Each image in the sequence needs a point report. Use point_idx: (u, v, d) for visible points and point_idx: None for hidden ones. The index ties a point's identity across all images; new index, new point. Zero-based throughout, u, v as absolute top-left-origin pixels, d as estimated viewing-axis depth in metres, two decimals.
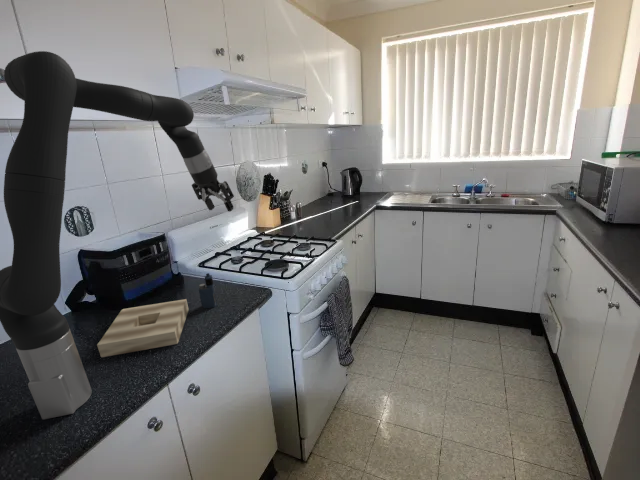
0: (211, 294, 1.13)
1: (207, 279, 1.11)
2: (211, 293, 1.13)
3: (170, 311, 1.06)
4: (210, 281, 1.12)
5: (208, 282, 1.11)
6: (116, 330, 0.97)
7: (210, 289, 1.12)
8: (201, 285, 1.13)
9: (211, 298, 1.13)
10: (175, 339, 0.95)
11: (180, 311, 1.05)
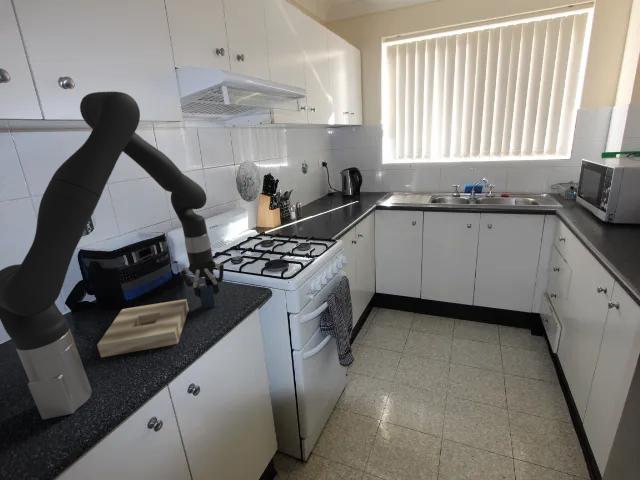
0: (211, 294, 1.13)
1: (207, 279, 1.11)
2: (211, 293, 1.13)
3: (170, 311, 1.06)
4: (210, 281, 1.12)
5: (208, 282, 1.11)
6: (116, 330, 0.97)
7: (210, 289, 1.12)
8: (201, 285, 1.13)
9: (211, 298, 1.13)
10: (175, 339, 0.95)
11: (180, 311, 1.05)
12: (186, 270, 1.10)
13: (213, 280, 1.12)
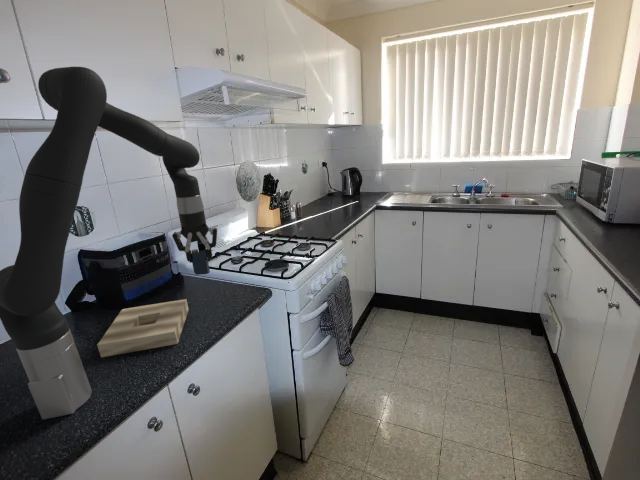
0: (204, 260, 1.09)
1: (200, 243, 1.07)
2: (204, 259, 1.09)
3: (170, 311, 1.06)
4: (203, 246, 1.08)
5: (201, 247, 1.07)
6: (116, 330, 0.97)
7: (203, 254, 1.08)
8: (193, 250, 1.09)
9: (204, 264, 1.09)
10: (175, 339, 0.95)
11: (180, 311, 1.05)
12: (178, 233, 1.06)
13: (206, 245, 1.08)
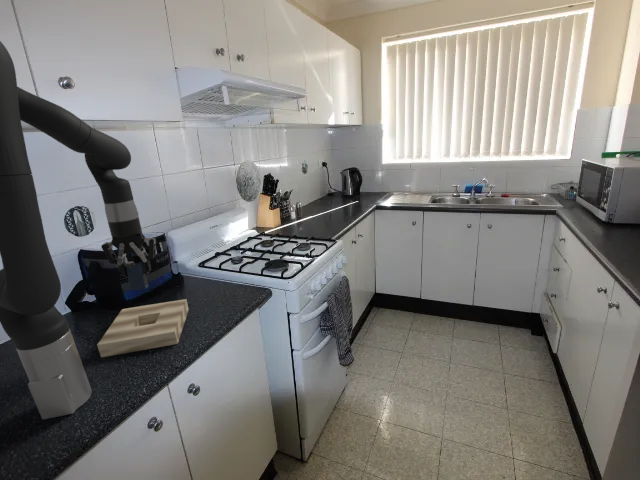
0: (140, 273, 0.96)
1: (134, 255, 0.95)
2: (140, 272, 0.96)
3: (170, 311, 1.06)
4: (138, 258, 0.95)
5: (136, 259, 0.95)
6: (116, 330, 0.97)
7: (138, 267, 0.96)
8: (128, 263, 0.96)
9: (140, 278, 0.97)
10: (175, 339, 0.95)
11: (180, 311, 1.05)
12: (109, 244, 0.93)
13: (142, 257, 0.95)
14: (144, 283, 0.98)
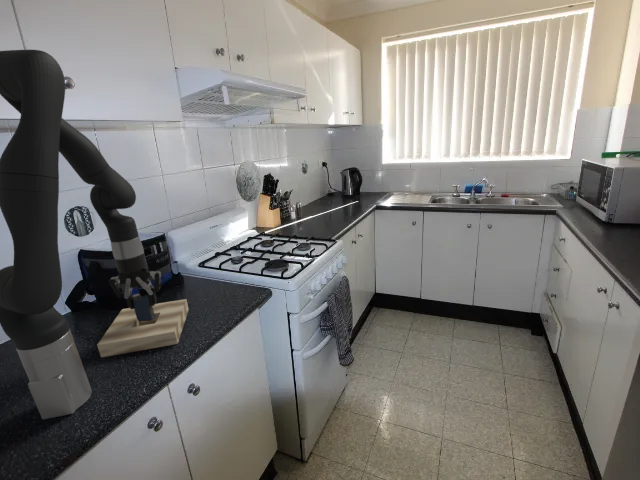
0: (146, 306, 0.99)
1: (140, 289, 0.97)
2: (146, 305, 0.99)
3: (170, 311, 1.06)
4: (144, 291, 0.98)
5: (142, 292, 0.98)
6: (116, 330, 0.97)
7: (145, 300, 0.99)
8: (135, 295, 0.99)
9: (146, 310, 1.00)
10: (175, 339, 0.95)
11: (180, 311, 1.05)
12: (115, 279, 0.96)
13: (148, 290, 0.98)
14: (150, 314, 1.01)
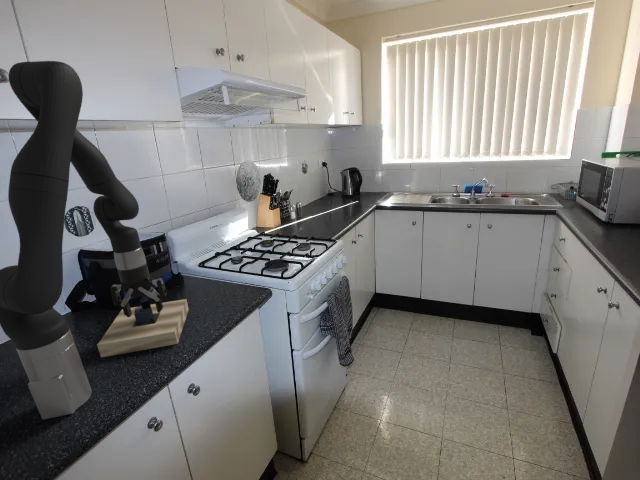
0: (148, 318, 1.00)
1: (142, 302, 0.99)
2: (148, 317, 1.00)
3: (170, 311, 1.06)
4: (146, 304, 0.99)
5: (144, 305, 0.99)
6: (116, 330, 0.97)
7: (146, 313, 1.00)
8: (137, 308, 1.00)
9: (148, 323, 1.01)
10: (175, 339, 0.95)
11: (180, 311, 1.05)
12: (117, 287, 0.97)
13: (153, 297, 0.99)
14: None
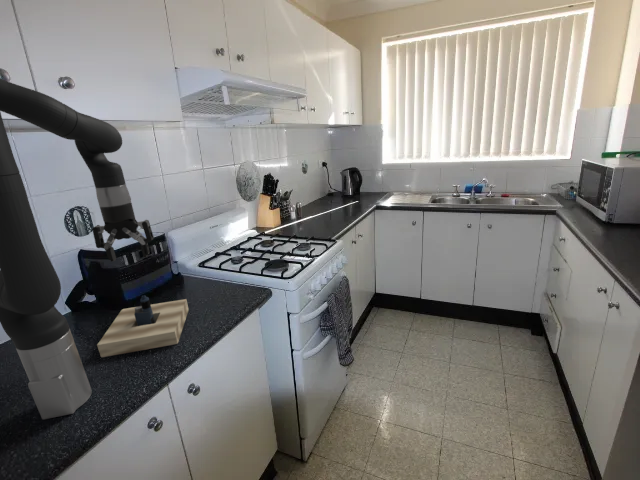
0: (148, 318, 1.00)
1: (142, 302, 0.99)
2: (148, 317, 1.00)
3: (170, 311, 1.06)
4: (146, 304, 0.99)
5: (144, 305, 0.99)
6: (116, 330, 0.97)
7: (146, 313, 1.00)
8: (137, 308, 1.00)
9: (148, 323, 1.01)
10: (175, 339, 0.95)
11: (180, 311, 1.05)
12: (100, 228, 0.91)
13: (139, 240, 0.94)
14: None
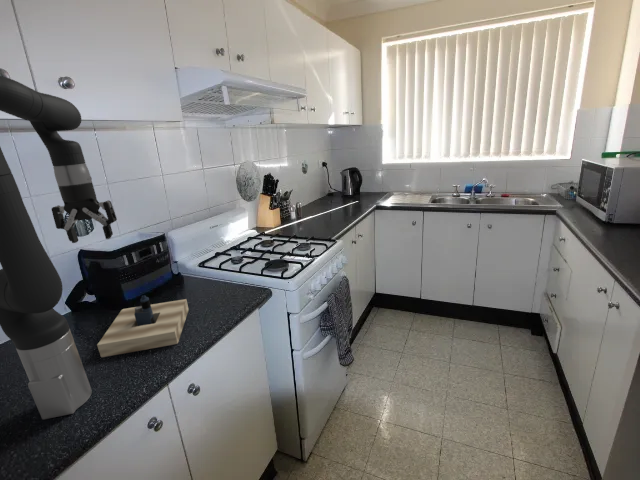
0: (148, 318, 1.00)
1: (142, 302, 0.99)
2: (148, 317, 1.00)
3: (170, 311, 1.06)
4: (146, 304, 0.99)
5: (144, 305, 0.99)
6: (116, 330, 0.97)
7: (146, 313, 1.00)
8: (137, 308, 1.00)
9: (148, 323, 1.01)
10: (175, 339, 0.95)
11: (180, 311, 1.05)
12: (60, 208, 0.90)
13: (101, 221, 0.92)
14: None
